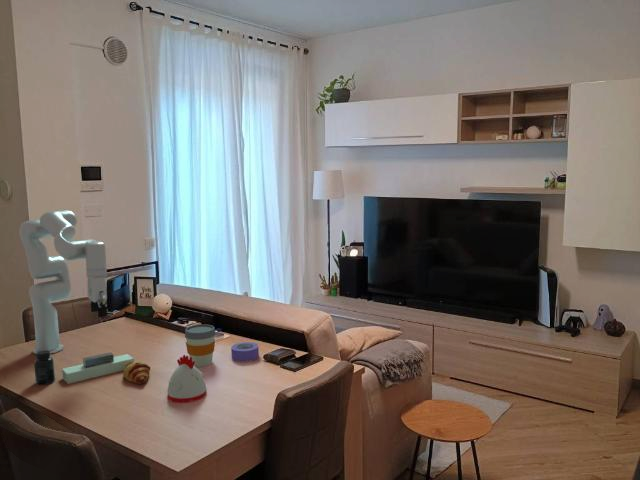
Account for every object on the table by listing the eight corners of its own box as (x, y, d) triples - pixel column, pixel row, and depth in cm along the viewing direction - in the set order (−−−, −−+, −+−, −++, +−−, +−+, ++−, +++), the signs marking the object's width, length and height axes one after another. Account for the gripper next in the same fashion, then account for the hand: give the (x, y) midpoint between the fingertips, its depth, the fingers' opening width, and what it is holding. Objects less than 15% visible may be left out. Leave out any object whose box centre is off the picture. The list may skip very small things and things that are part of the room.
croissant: (124, 378, 226) (113, 363, 223) (145, 363, 230) (135, 348, 227) (136, 395, 208) (125, 379, 205) (159, 378, 212) (148, 363, 209)
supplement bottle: (59, 379, 216) (56, 350, 214) (45, 386, 209) (42, 356, 208) (45, 377, 218) (43, 348, 216) (31, 384, 212) (28, 354, 210)
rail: (62, 378, 217) (62, 368, 216) (128, 363, 233) (127, 354, 232) (67, 383, 211) (67, 373, 211) (134, 367, 228) (133, 358, 227)
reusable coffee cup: (190, 370, 224) (188, 334, 222) (182, 360, 235) (181, 326, 233) (220, 364, 230) (218, 330, 228) (211, 355, 241) (210, 322, 239)
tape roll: (226, 360, 236) (226, 348, 235) (240, 351, 247) (239, 340, 246) (250, 363, 232) (250, 352, 231) (263, 354, 242) (263, 343, 242)
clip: (84, 375, 220) (82, 358, 219) (111, 368, 227) (110, 352, 226) (86, 377, 218) (85, 360, 217) (114, 370, 224) (113, 354, 223)
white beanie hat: (186, 406, 191) (185, 365, 189) (159, 397, 199) (157, 357, 197) (214, 391, 203) (212, 353, 201) (187, 384, 210) (185, 346, 208)
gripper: (80, 270, 224) (83, 310, 227) (93, 277, 211) (95, 320, 213) (99, 268, 229) (102, 307, 232) (113, 275, 216) (115, 317, 218)
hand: (99, 313), depth 223 cm, fingers open, 9 cm apart
